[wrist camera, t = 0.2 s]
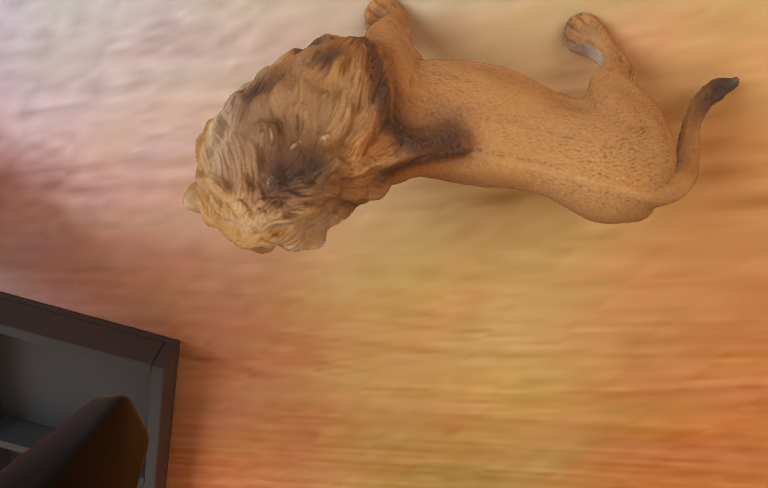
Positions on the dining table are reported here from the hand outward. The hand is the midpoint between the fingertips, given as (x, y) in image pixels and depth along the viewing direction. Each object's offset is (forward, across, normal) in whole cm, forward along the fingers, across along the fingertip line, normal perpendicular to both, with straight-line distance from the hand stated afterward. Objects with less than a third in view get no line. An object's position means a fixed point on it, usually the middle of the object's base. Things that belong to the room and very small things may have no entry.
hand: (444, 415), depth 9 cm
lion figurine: (+15, 0, +1) cm, 15 cm away
